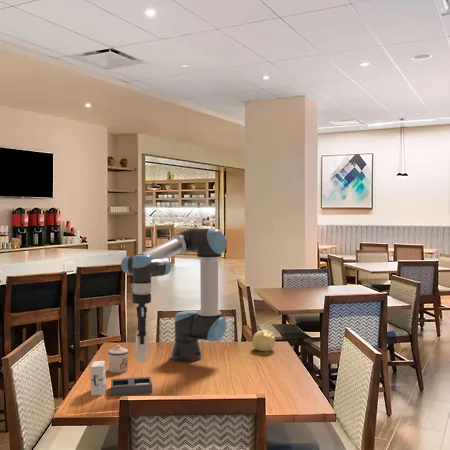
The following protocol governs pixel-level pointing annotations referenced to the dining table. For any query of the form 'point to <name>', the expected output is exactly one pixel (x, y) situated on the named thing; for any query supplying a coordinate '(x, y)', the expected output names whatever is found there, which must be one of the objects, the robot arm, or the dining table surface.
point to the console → (131, 386)
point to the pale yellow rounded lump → (263, 340)
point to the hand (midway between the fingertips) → (141, 350)
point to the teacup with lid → (118, 359)
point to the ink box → (98, 378)
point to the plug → (141, 355)
